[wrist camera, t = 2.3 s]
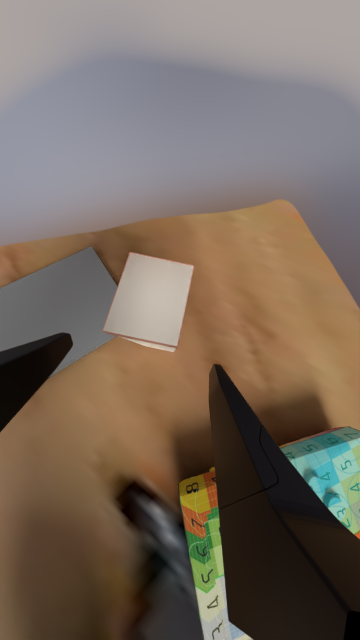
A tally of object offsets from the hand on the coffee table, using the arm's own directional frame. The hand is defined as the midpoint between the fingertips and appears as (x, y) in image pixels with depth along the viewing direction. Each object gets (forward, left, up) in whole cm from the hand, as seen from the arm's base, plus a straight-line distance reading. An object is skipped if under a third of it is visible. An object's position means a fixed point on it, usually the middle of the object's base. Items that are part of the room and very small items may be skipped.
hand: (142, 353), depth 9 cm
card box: (+2, +2, -10) cm, 11 cm away
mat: (-12, +12, -10) cm, 20 cm away
